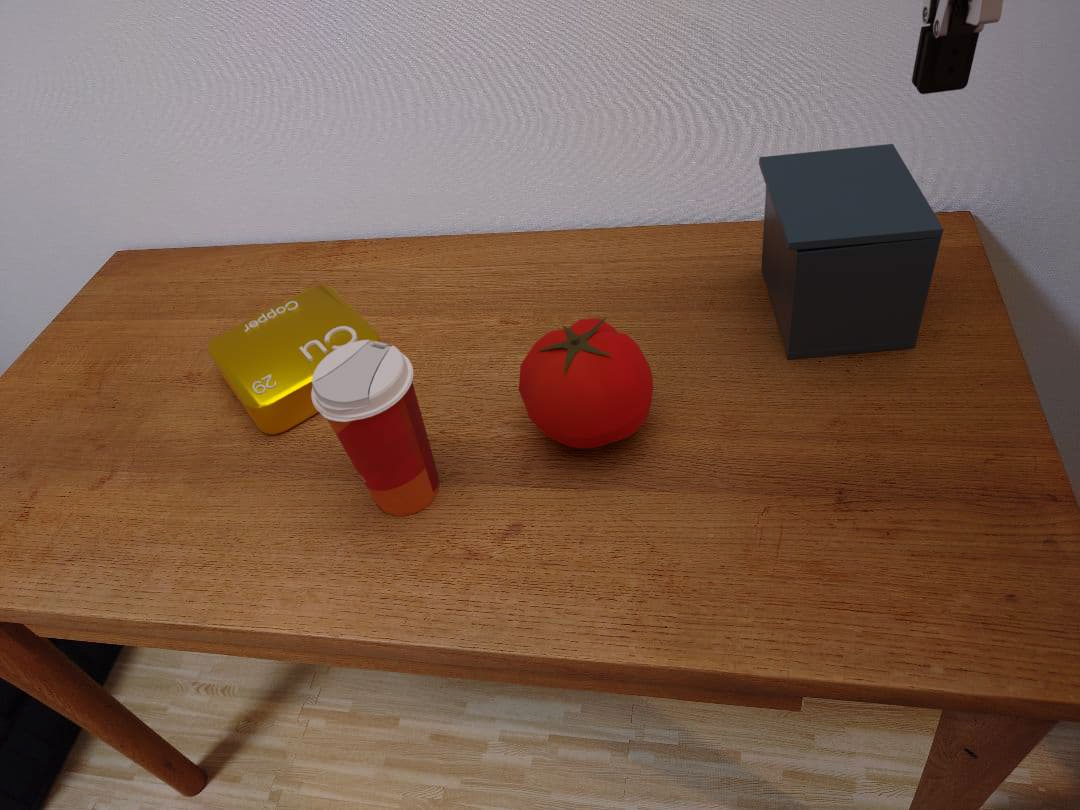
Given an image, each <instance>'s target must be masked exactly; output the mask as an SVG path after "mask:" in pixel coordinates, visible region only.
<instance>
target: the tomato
mask: <svg viewBox="0 0 1080 810" xmlns="http://www.w3.org/2000/svg"><path fill="white" fill-rule="evenodd" d="M608 317H609V315H608V316H605V317H604V318H603V319H602V318H598V317H596V318H595V317H593V318H580V319H578V320H577V321H576V322H574V323H573V324H571V325H570V326H569V327H566V326H565V325H562V328H559V329H553V330H551V331H549V332H546V333H545V334H544V335H542V336H541V337H540V338H539V339H538V340H537V341H535V342H534V343H533V345H532V347H531V348H530V350H529V351H528V353H527V354H526V355H525V357H524V359H523V360H522V362H521V364H520V365H519V366H520V367H519V379H518V380H519V381H518V392H519V395H520V397H521V399H522V402H523V404H524V408H525V410H526V414H527V415H528V418H529V420H530V421H531V422H532V423H533V424H534V425H535V426H536V427H537V428H538V429H539V430H540V431H541V432H542V433H543V435H545V437H547V438H549V439H551V440H552V441H556V442H558V443H559V444H562V445H564V446H566V447H569V448H570V447H571V448H576V449H577V448H578V449H582V450H583V449H584V450H585V449H595V448H599V447H603V446H606V445H608V444H612V443H614V442H617V441H621V440H624V439H627V438H629V437H630V436H632V435H633V434H635V433H636V432H637V431H638V430H639V429H640V428H641V426H642V425H643V424H644V422H645V421H646V419H647V418H648V416H649V414H650V410H651V406H652V400H653V392H654V380H653V379H654V378H653V373H652V369H651V366H650V364H649V362H648V360H647V358H646V356H645V354H644V352H643V351H642V349H641V347H640V346H639V344H638V343H637V342H636V341H635V340H634V339H633V338H632V337H630V336H629V335H628V334H627V333H625V332H619V331H618V330H617V329H616V328H615V327H614V326H612V325H611V324H609V323H608V322H606V319H607V318H608Z"/></svg>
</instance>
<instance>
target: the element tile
mask: <svg viewBox="0 0 1080 810" xmlns="http://www.w3.org/2000/svg"><path fill="white" fill-rule="evenodd" d="M362 340H371V342H375V341H377V342H382V340H381V337H380V335H379V332H378V331H377V330H376V329H375V328H374V327H373V326H372V325H371V324H370V323H369V322H368V321H366V319H365V318H364V317H363V316H362V315H361V314H359V312H358V311H357V310H355V309H354V308H353V307H352V305H350V304H349V302H347V301H346V300H345V299H344V298H343V297H342V296H341V294H339V293H338V292H337V291H336V289H334V288H333V287H332V286H329V285H326V284H318V285H314V286H312V287H309V288H307V289H305V290H303V291H301V292H299V293H297V294H295V295H293V296H292V297H289V298H288V299H286V300H284V301H281V302H280V303H278V304H276V305H274V306H272V307H270V308H268V309H266V310H264V311H261V312H260V313H258V314H255V316H252V317H250V318H248V319H246V320H244V321H243V322H240V323H238V324H237V325H234V326H233V327H230V328H229V329H227V330H225V331H223V332H221V333H219V334H218V335H216V336H215V337H213V338H212V339H211V340H210V342H209V344H208V346H207V351H208V354H209V356H210V357H211V359H212V361H213V362H214V364H215V366H216V367H217V369H218V371H219V373H220V375H221V376H222V378H223V379H224V381H225V382H226V383H227V385H228V386H229V388H230V389H231V390H232V392H233V394H234V395H235V397H236V398H237V399H238V401H239V402H240V404H241V406H242V407H243V409H244V410H245V411H246V413H247V414H248V415H249V417H250V418H251V420H252V421H253V422H254V424H255V425H256V427H257V429H258V430H259V431H260V432H262V433H264V434H266V435H272V436H273V435H274V436H275V435H278V434H282V433H284V432H286V431H288V430H290V429H292V428H294V427H295V426H297V425H299V424H301V423H303V422H304V421H306V420H308V419H310V418H311V417H313V416H315V415H316V414H318V413H320V412H319V411H318V410H317V409H316V408H315V406H314V405H313V402H312V397H311V392H312V378H313V374H314V371H315V369H316V368H317V366H318V365H319V363H320V362H321V361H322V360H323V359H324V358H325V357H326V356H327V355H329V354H330V353H331V352H333V351H334V350H336V349H338V348H340V347H342V346H344V345H347V344H349V343H353V342H356V341H362Z"/></svg>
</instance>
